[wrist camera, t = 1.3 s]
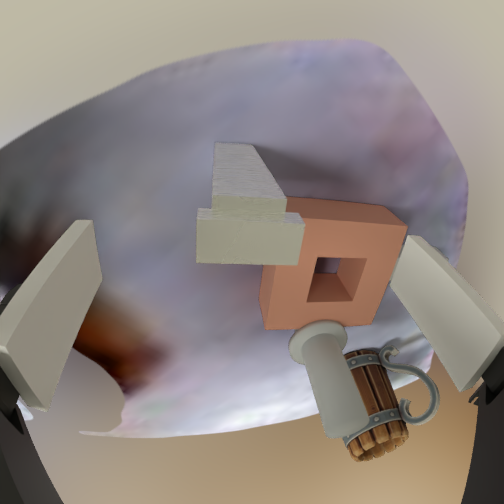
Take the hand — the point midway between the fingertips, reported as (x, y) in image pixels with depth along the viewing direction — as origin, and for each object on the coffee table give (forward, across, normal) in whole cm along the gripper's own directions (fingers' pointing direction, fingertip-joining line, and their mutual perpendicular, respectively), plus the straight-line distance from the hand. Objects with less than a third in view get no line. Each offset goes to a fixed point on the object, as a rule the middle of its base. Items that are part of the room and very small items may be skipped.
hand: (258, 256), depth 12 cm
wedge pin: (+16, 0, 0) cm, 16 cm away
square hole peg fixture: (+16, +15, -12) cm, 25 cm away
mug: (+17, +22, -28) cm, 39 cm away
